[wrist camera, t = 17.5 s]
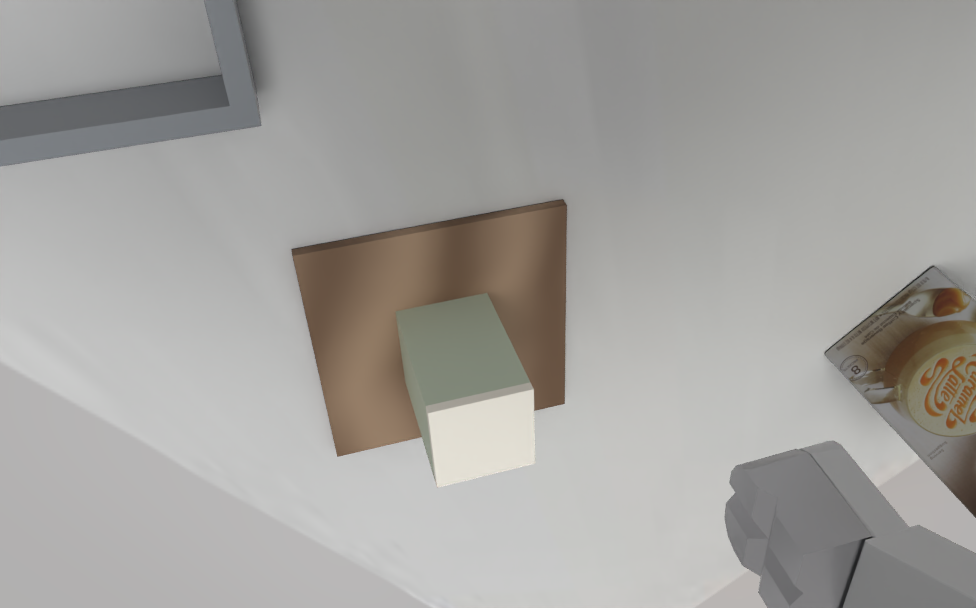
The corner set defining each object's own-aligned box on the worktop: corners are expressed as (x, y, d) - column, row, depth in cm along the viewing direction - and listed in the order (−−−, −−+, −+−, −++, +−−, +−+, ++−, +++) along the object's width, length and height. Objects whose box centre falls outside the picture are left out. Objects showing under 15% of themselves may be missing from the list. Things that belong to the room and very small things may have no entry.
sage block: (487, 292, 45) (533, 389, 38) (491, 363, 48) (535, 463, 41) (395, 311, 44) (427, 413, 38) (405, 382, 47) (437, 487, 40)
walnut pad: (562, 199, 43) (566, 204, 43) (561, 397, 52) (564, 403, 51) (291, 249, 41) (292, 255, 40) (336, 449, 49) (337, 456, 49)
